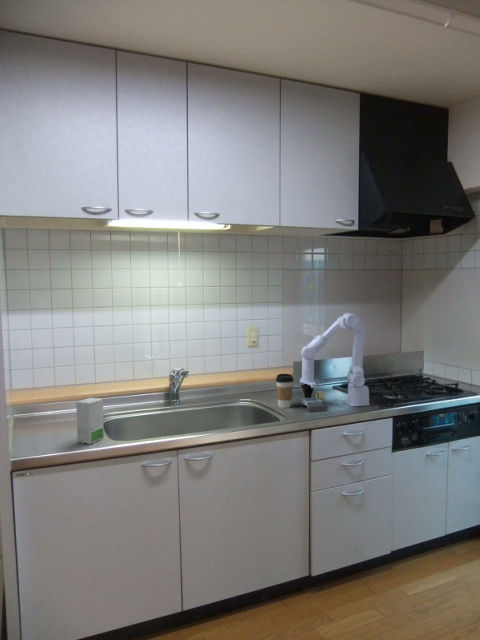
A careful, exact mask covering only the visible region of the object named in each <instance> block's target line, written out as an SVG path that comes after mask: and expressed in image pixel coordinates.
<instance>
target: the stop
mask: <svg viewBox="0 0 480 640" xmlns="http://www.w3.org/2000/svg"><path fill="white" fill-rule="evenodd" d="M306 411H307V412H308V413H315V412H322V411H323V412H324V411H325V412H326V411H327V405H326V404H322V405H317V406H306Z"/></svg>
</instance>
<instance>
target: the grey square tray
mask: <svg viewBox="0 0 480 640" xmlns="http://www.w3.org/2000/svg"><path fill="white" fill-rule="evenodd" d="M300 403H301V404H302V407H307V406H317V405H323V404H322V400H320V399H318V398H316V396H314V397H313V396H311V398H305V397H302V398H301V401H300Z"/></svg>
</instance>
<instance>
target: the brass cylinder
mask: <svg viewBox="0 0 480 640" xmlns="http://www.w3.org/2000/svg"><path fill="white" fill-rule="evenodd" d="M324 393H325V392H324V391H323V390H317V391H315V397H316V398H318V399H320V400H322V405H324V403H325V402H324V399H325V396H324V395H325V394H324Z"/></svg>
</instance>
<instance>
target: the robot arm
mask: <svg viewBox="0 0 480 640" xmlns="http://www.w3.org/2000/svg"><path fill="white" fill-rule="evenodd" d="M347 327H348V328H349V329H350V330H351V331H352V332H353V342H352V343H353V344H352V352H351V353H352V355H351V363H350V364H351V365H350V366H349V367H350V368H349V372H348V373H347V376H346V379H347V381H348V382H349V383H348V384H347V400H346V401H344V402H343V403H345V404H346V405H348V406H350V407H364V406H370V391H369V387H368V386H367V385H365V383H366V380H365V379H366V378H365V376H364V374H365V373H364V368H363V363H364V351H365V341H366V329H365V326H364V324H363V322H362V319H361V318H360V317H359V316H358V315H356V314H355V313H351V312H344V313H343V314H342V315H341V316H339V317H338V318H337V319H336V320H335V321H334V322H333V323H332V324H331V325H330V327H328V328H327V329H326V330H325V331H324V332H323V333H322V334H318V335H317V336H316V335H314V336H313V339H312V340H311V341H310V342H309V343H306V346H304V347H302V348H301V351H300V355H301V356H302V359H301V360H302V361H301V377H300V378H299V383H301V384H300V387H301V388H302V392H303V395H304V398H312V394H313V391H314V389H316V388H317V384H316V382H315V360H314V359H315V357H316V354H317V353H318V352H320V350H322V349H323V348H324V347H325V346H326V345H327V343H328V342H327V341H328V339H331V337H332V336H333V335H334V334H336V333H337V332H338V331H339V330H341V329H346V328H347Z"/></svg>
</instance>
